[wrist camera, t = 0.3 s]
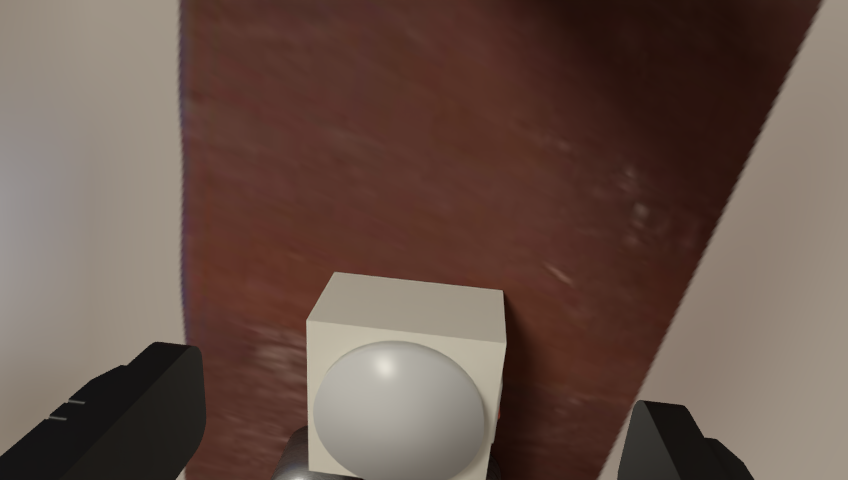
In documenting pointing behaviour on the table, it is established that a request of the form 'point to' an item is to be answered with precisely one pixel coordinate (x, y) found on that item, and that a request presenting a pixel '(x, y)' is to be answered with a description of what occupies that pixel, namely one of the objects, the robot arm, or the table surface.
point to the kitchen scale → (404, 378)
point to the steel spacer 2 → (493, 469)
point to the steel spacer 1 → (301, 461)
